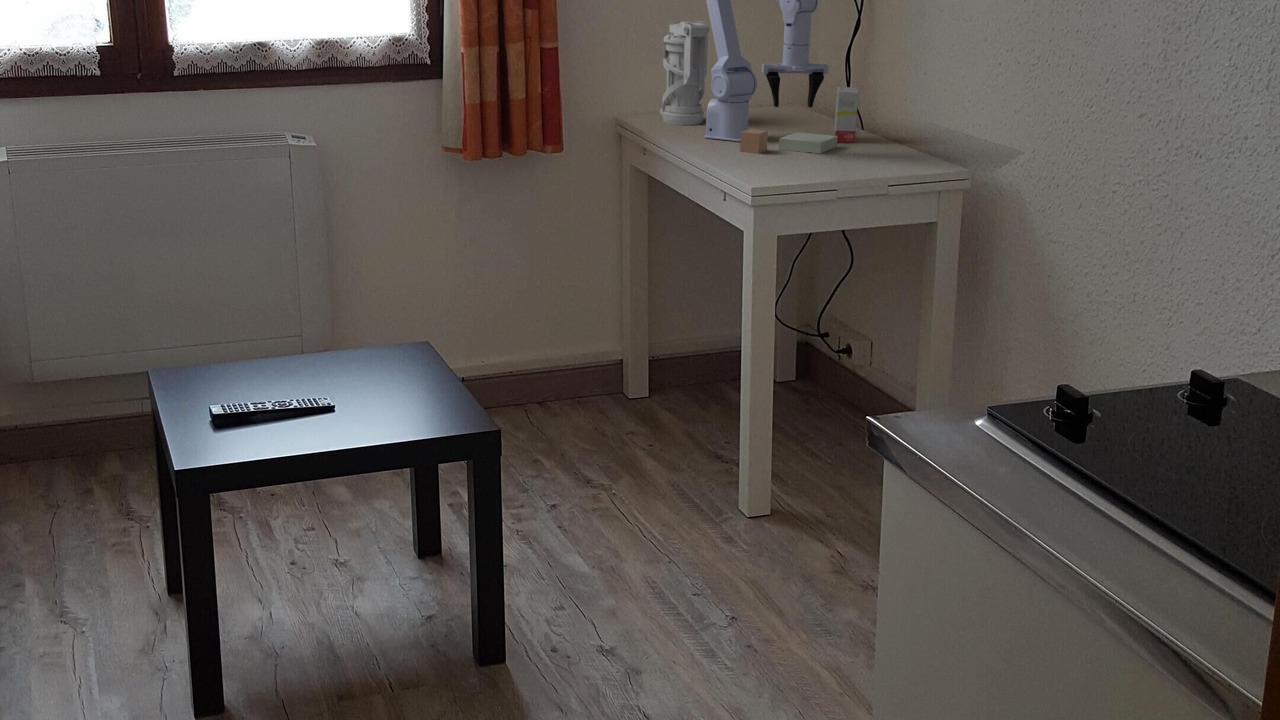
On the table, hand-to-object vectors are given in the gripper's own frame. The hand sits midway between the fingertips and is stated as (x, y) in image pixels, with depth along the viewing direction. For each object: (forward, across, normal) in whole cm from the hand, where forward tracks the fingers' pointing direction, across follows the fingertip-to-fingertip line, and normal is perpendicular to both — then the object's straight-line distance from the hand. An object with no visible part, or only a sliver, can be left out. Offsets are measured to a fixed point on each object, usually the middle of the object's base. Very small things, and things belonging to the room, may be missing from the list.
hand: (793, 106), depth 302 cm
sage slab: (+10, +5, +3) cm, 11 cm away
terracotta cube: (+10, -8, 0) cm, 13 cm away
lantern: (+10, -19, +38) cm, 44 cm away
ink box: (+10, +16, +14) cm, 23 cm away
